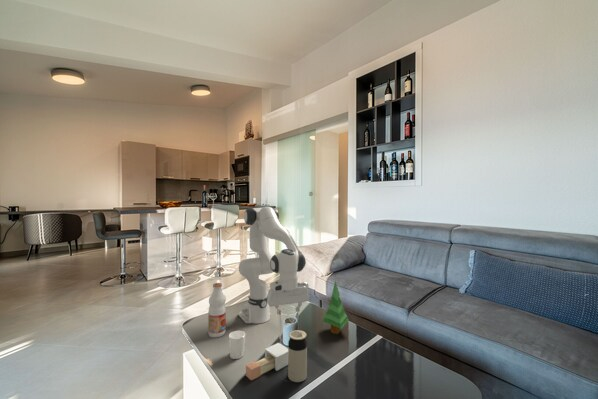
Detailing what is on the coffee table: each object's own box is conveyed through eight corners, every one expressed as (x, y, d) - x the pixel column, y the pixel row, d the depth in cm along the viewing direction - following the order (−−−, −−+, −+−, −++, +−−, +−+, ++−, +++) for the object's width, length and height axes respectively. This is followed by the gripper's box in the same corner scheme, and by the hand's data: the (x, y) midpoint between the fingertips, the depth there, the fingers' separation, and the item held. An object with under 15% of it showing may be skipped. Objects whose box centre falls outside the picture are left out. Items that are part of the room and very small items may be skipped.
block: (245, 375, 111) (245, 365, 111) (254, 370, 114) (254, 360, 115) (251, 380, 108) (251, 369, 108) (260, 376, 111) (260, 365, 111)
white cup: (239, 348, 132) (239, 328, 132) (248, 355, 126) (248, 334, 126) (225, 355, 126) (225, 334, 126) (234, 362, 121) (234, 340, 121)
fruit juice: (208, 330, 150) (209, 282, 150) (225, 328, 152) (225, 280, 153) (207, 339, 141) (208, 287, 141) (225, 336, 143) (226, 285, 144)
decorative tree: (339, 324, 159) (339, 275, 159) (352, 337, 144) (352, 282, 144) (319, 327, 154) (319, 277, 155) (330, 341, 139) (330, 285, 140)
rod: (254, 371, 114) (254, 362, 114) (286, 355, 127) (286, 347, 127) (259, 376, 111) (260, 366, 111) (291, 359, 124) (291, 350, 124)
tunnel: (265, 361, 121) (265, 348, 121) (278, 354, 126) (278, 342, 126) (276, 370, 114) (276, 357, 114) (290, 363, 120) (290, 350, 120)
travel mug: (292, 385, 106) (292, 340, 106) (285, 373, 113) (285, 331, 113) (309, 379, 109) (310, 336, 109) (302, 368, 116) (302, 328, 116)
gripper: (306, 279, 131) (306, 307, 131) (266, 284, 124) (266, 313, 124) (310, 283, 125) (310, 312, 125) (269, 288, 118) (269, 318, 118)
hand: (288, 312), depth 124 cm, fingers open, 8 cm apart
